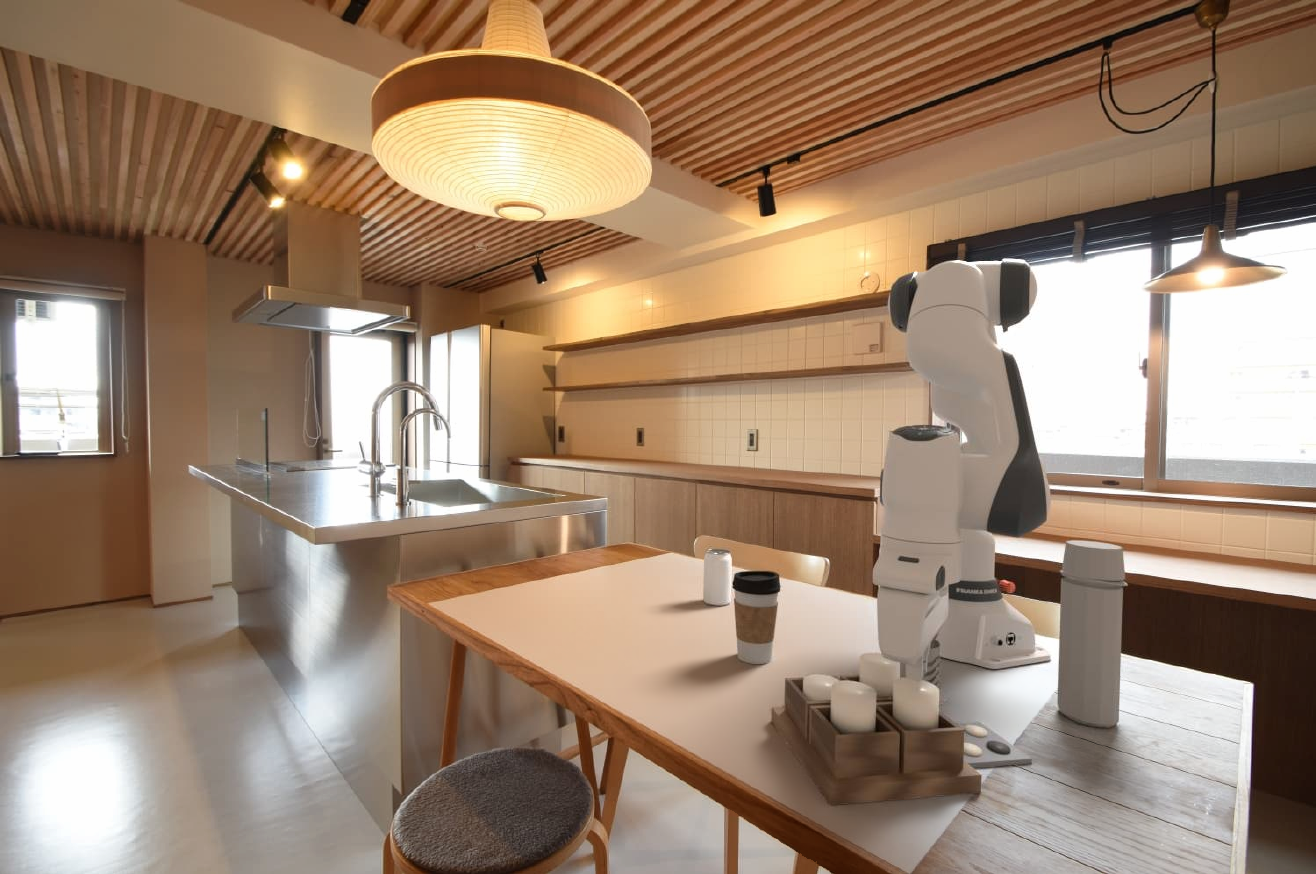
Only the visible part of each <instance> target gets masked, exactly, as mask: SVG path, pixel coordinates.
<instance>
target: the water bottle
mask: <svg viewBox="0 0 1316 874" xmlns="http://www.w3.org/2000/svg"><path fill="white" fill-rule="evenodd" d="M1123 549H1124V548H1123V547H1122V546H1120V545H1116V544H1112V543H1108V542H1107V543H1106V542H1099V541H1090V540H1078V539H1077V540H1066V541H1065V545H1064V553H1063V561H1062V568H1061V570H1059V573H1060V574H1061V576H1062V578H1061V579H1060V607H1059V608H1060V609H1059V637H1058V638H1059V640H1058V642H1059V643H1058V645H1059V646H1058V667H1057V668H1058V669H1057V670H1058V672H1057V677H1058V678H1057V701H1056V702H1057V707H1058V710H1059V711H1060V712H1061V714H1062V715H1064V716H1066V717H1067V718H1069V719H1070V720H1072V721H1074V722H1076V723H1079V724H1081V725H1084V726H1085V725H1086V726H1089V727H1094V728H1112V727H1113V726H1115V725H1117V724H1118V723H1119V722H1120V697H1121V696H1120V692H1121V689H1120V688H1121V665H1122V663H1121V661H1122V630H1123V629H1122V626H1123V603H1124V599H1123V597H1124V588H1123V587H1128V586H1129V584H1128V583H1127V582H1125V580H1126V570H1125V560H1124V550H1123Z"/></svg>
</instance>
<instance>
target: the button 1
mask: <svg viewBox="0 0 1316 874" xmlns="http://www.w3.org/2000/svg"><path fill="white" fill-rule="evenodd" d="M831 676H832V675H826V674H820V673H818V674H816V673H815V674H814V673H813V674H809V675H805V676H803V677H804V679H803V694H804V695H805V696H806V697H807V698H808V699H809V700H810V701H824V700H831V686H832V684H833V683H834V682H837V681H839V680H838V679H836V678H834V677H831Z"/></svg>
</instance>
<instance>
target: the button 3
mask: <svg viewBox="0 0 1316 874" xmlns="http://www.w3.org/2000/svg"><path fill="white" fill-rule="evenodd" d="M858 675H859V682H860V683H863V684H866V685H868V686H870V687H872V688H873V689H874V690H875V691H876V698H880V697H893V682H894V680H896V679H898V678H900V662H896V661H893V660H889V659H886V658H884V657H883V656H882V654H881V652H867V653H866V652H865V653H862V654H861V655H860V656H859V674H858Z"/></svg>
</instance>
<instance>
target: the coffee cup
mask: <svg viewBox="0 0 1316 874" xmlns="http://www.w3.org/2000/svg"><path fill="white" fill-rule="evenodd" d="M781 587H782V586H781V581H780V574H779V573H778V572H776V571H772V570H771V571H770V570H746V571H738V572H736V573H734V575H733V580H732V581H731V589H733V590H734V599H733V602H734V603H733V605H734V607H733V608H734V619H735V632H736V635H735V636H736V644H737V645H736V647H737V648H736V649H737V650H736V651H737V658H738V659H739V661H742V662H744V663H746V664H750V665H751V664H752V665H764V664H769V663H770V662H771V661H772V657H773V656H772V655H773V646H774V638H775V632H776V631H775V630H776V623H777V615H778V607H779V602H778V595H779V593H780V592H781Z"/></svg>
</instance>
